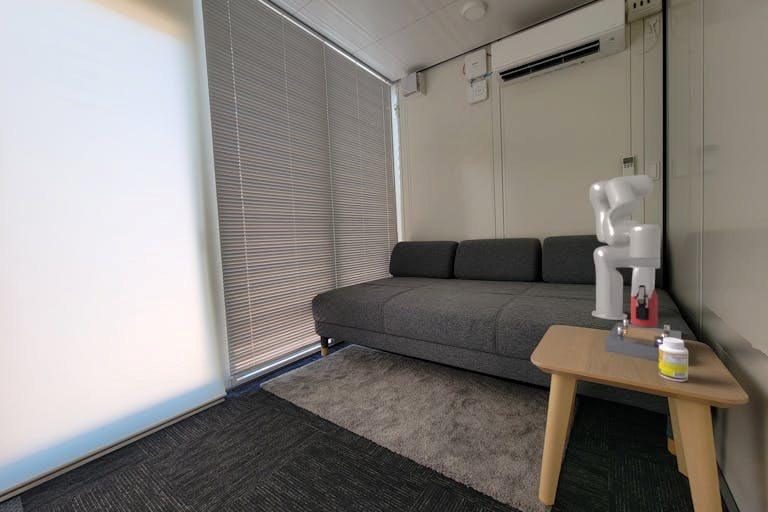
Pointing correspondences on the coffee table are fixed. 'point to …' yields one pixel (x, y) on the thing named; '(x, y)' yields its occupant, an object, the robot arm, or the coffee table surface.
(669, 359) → the supplement bottle
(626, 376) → the coffee table surface
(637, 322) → the beer can
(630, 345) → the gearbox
